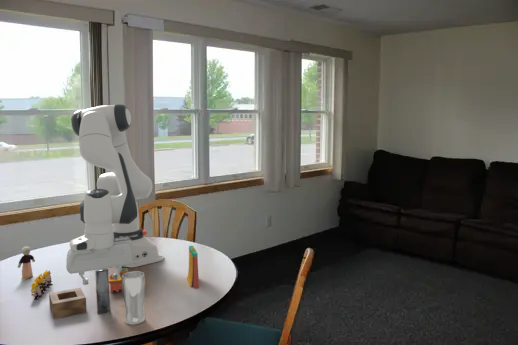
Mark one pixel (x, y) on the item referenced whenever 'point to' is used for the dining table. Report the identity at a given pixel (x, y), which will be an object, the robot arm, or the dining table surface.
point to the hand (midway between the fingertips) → (100, 281)
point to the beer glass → (134, 296)
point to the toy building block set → (191, 278)
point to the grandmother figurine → (26, 263)
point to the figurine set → (41, 284)
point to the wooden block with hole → (67, 303)
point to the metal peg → (102, 291)
